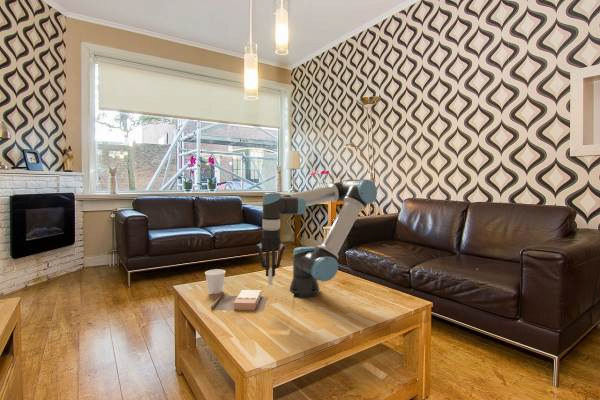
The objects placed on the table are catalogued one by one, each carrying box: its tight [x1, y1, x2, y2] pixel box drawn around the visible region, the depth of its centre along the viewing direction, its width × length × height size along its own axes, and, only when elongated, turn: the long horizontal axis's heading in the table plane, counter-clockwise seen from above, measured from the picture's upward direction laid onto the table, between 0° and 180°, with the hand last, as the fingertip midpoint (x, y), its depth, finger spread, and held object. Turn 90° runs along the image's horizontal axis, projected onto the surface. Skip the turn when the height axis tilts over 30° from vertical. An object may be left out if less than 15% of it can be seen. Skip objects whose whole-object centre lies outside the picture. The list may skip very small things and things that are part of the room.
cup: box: [204, 268, 226, 296], centre depth 157 cm, size 10×10×11 cm
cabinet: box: [233, 298, 257, 311], centre depth 137 cm, size 9×5×3 cm, turn 88°
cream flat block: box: [237, 289, 262, 304], centre depth 146 cm, size 9×11×3 cm
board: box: [210, 291, 269, 312], centre depth 143 cm, size 22×17×3 cm
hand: (270, 283), depth 136 cm, fingers closed
